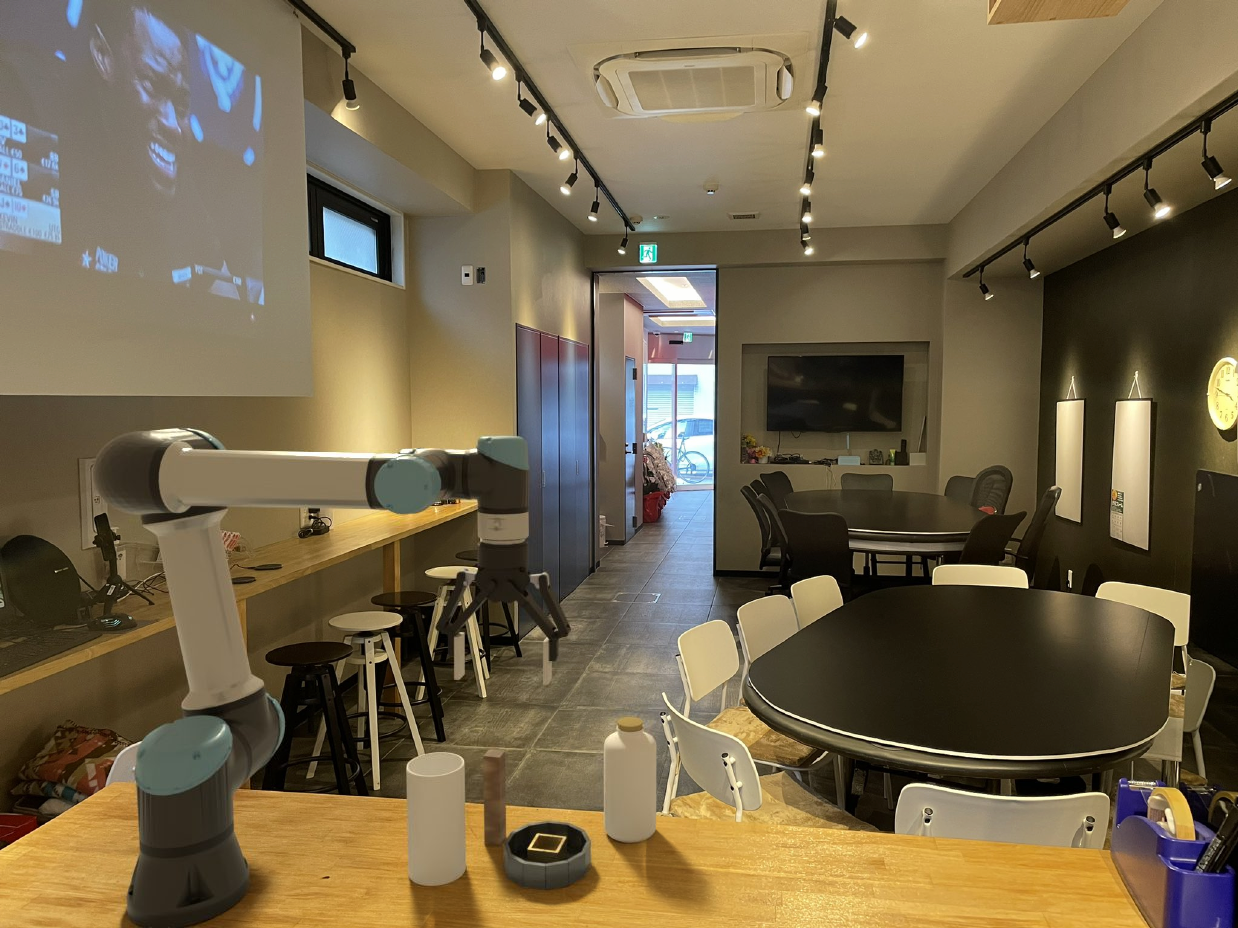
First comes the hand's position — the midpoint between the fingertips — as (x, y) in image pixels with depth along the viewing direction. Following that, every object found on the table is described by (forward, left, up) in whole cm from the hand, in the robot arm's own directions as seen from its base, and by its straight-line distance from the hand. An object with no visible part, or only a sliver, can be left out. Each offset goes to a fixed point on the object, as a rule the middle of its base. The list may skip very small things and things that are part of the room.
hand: (503, 679), depth 128 cm
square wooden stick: (-2, +2, -26) cm, 27 cm away
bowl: (+8, -3, -26) cm, 28 cm away
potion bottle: (+18, +9, -27) cm, 33 cm away
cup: (-8, -8, -27) cm, 29 cm away
